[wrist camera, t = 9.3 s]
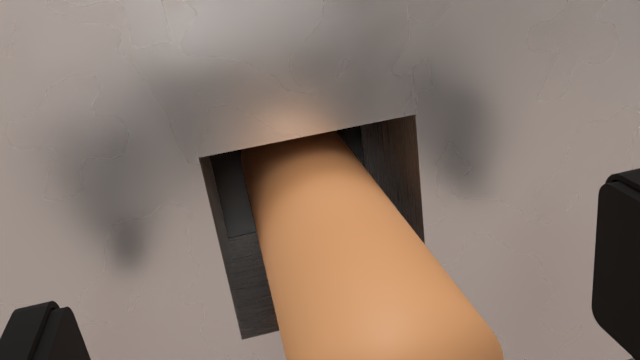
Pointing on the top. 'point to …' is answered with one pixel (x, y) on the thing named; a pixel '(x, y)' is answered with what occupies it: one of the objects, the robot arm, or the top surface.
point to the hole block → (299, 121)
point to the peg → (351, 262)
